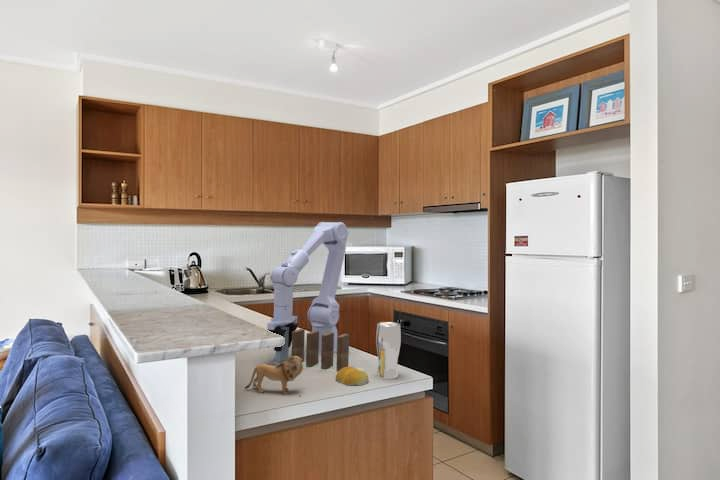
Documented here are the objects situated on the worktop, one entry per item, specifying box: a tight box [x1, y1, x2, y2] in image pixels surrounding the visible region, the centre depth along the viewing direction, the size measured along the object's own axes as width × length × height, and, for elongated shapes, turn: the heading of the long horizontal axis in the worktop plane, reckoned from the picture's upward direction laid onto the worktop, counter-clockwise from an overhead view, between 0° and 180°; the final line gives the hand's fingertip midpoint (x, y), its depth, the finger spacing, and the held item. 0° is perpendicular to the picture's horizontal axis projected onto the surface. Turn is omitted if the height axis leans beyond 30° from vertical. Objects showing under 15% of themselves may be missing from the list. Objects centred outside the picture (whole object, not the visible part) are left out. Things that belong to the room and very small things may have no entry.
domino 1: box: [274, 327, 290, 362], centre depth 153 cm, size 2×5×10 cm, turn 158°
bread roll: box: [335, 365, 369, 387], centre depth 135 cm, size 8×9×4 cm
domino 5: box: [336, 333, 350, 371], centre depth 145 cm, size 2×5×10 cm, turn 158°
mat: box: [272, 357, 366, 373], centre depth 148 cm, size 7×28×1 cm, turn 68°
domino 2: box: [290, 328, 306, 362], centre depth 151 cm, size 2×5×10 cm, turn 158°
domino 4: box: [320, 332, 334, 370], centre depth 147 cm, size 2×5×10 cm, turn 158°
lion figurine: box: [244, 356, 304, 395], centre depth 125 cm, size 15×5×9 cm, turn 92°
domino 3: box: [305, 330, 320, 368], centre depth 149 cm, size 2×5×10 cm, turn 158°
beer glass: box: [375, 321, 402, 380], centre depth 140 cm, size 7×7×15 cm
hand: (282, 349), depth 153 cm, fingers closed on domino 1, 5 cm apart
